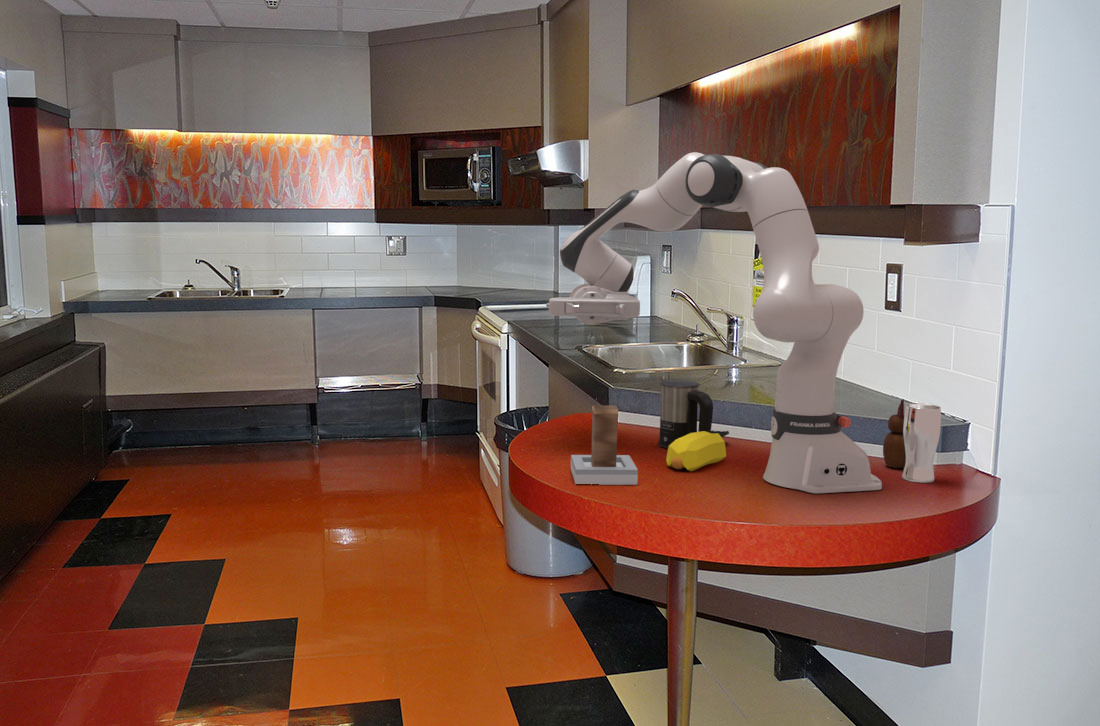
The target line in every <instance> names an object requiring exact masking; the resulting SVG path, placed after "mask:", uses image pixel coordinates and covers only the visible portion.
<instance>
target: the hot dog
mask: <svg viewBox="0 0 1100 726" xmlns="http://www.w3.org/2000/svg"><path fill="white" fill-rule="evenodd" d="M726 457H727V449H726V441H725V440H724V438H723V437H721V436H720V435H719V434H718V433H713V434H711V433H708V432H706V431H701V432H698V431H697V432H694V433H690V434H687V435H685V436H683V437H681V438H678V439H676V440H675V441H674V442H673V443H671V444H670V445H669V447H668V448H667V453H666V459H665V461H666V463H667V466H668V467H669V468H672V469H676V470H682V469H684V468H686V470H687V471H689V472H694V471H696V470H698V469H700V468H702V467H705V466H706V465H707V466H708V465H710V464H711V465H712V464H715V463H718V462H719V463H720V462H722V461H723V459H725V458H726Z"/></svg>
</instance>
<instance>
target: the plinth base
mask: <svg viewBox="0 0 1100 726" xmlns="http://www.w3.org/2000/svg"><path fill="white" fill-rule="evenodd" d="M570 471H571V474H572V477H573V481H574V485H576V484H591V485H592V484H599V486H600V485H601V486H604V485H605V486H611V485H612V486H614V485H615V486H626V485H627V486H628V485H629V486H638V479H639V478H638V477H639V476H638V475H639V474H638V473H639V472H638V471H639V470H638V468H637V465H636V464H635V462H634V461H633V459H632V457H631V456H630V455H629V454H622V455H621V454H617V456H616V467H592V465H591V454H571V455H570ZM592 486H593V485H592Z"/></svg>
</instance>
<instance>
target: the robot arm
mask: <svg viewBox="0 0 1100 726" xmlns="http://www.w3.org/2000/svg"><path fill="white" fill-rule="evenodd" d="M702 207H707V208H714V209H718V210H722V211H724V212H725V211H726V212H730V213H731V212H732V213H733V212H734V213H742V212H743V213H747V215H748V216H749V220H750V223H751V226H752V230H753V233H754V236H755V240H756V243H757V247H758V250H759V254H760V257H761V258H760V259H761V262H762V267H763V283H762V284H763V285H762V289H761V293H760V295H759V296H758V298H757V299H756V301H755V303H754V306H753V313H752V316H753V323H754V325H755V327H756V330H757V331H758V332H759V334H760V335H761V336H763V337H764V338H766V339H769V340H773V341H775V342H776V341H777V342H782V343H786V344H787V343H788V344H789V343H790V344H791V343H793V346H792V348H791V351H790V353H789V355H788V357H787V358H786V360H785V361H784V362H783V363H782V364H781V365H780V366H779V368H778V369H777V373H776V384H775V385H776V387H775V405H774V406H775V407H774V408H773V409H772V417H771V426H770V432H771V437H772V438H771V439H772V440H771V446H770V451H769V455H768V457H769V458H768V461H767V465H766V468H765V471H764V473H763V475H762V479H763V480H764V481H766V482H767V483H770V484H772V485H775V486H779V487H781V488H782V487H783V488H789V489H793V490H799V491H803V492H807V493H809V494H810V493H811V494H827V493H828V494H829V493H844V492H845V493H847V492H849V493H851V492H863V491H864V492H866V491H880V490H882V489H883V483H882V480H881V479H880V478H878V476H876V475H874V474H872V473H871V472H872V471H871V463H870V459H869V457H868V454H867V453H866V452H865V450H864V449H863V448H861V447H860V446H859V445H858V444H856V442H854V441H853V439H851V438H850V437H849V436H847V435H846V434H845V433H844V432H842V428H844V429H848V428H849V427H851V424H852V420H851V419H850V417H847V416H844V415H842V416H841V415H840V414H837V413H836V412H834V405H835V404H834V403H835V392H836V389H835V388H836V379H837V373H838V369H839V365H840V362H841V359H842V356H843V354H844V351H845V348H846V346H847V344H848V341H849V339H850V338H851V337H852V335H853V333H854V332H855V331H856V330H857V329H858V328H859V327H860V325H862V324H861V323H862V321H863V318H864V314H865V313H864V312H865V311H864V306H863V305H864V304H863V301H862V299H861V297H860V296H859V294H857V292H856V291H854V290H852V289H851V288H847V287H844V286H841V285H837V284H835V283H834V284H833V283H829V284H828V283H826V284H819V283H818V284H816V283H815V282H814V278H813V262H814V260H815V259H816V257H817V256H818V254H819V250H820V246H819V245H820V244H819V241H818V238H817V236H816V232H815V228H814V226H813V223H812V219H811V216H810V213H809V210H808V208H807V205H806V202H805V199H804V197H803V195H802V193H801V191H800V188H799V187H798V184H797V183H796V181H795V178H794V177H793V176H792V174H791V173H790V171H788V170H787V169H784V168H782V167H774V166H773V167H767V166H765V165H764V164H761V162H755V161H750V160H748V159H744V158H742V157H737V156H735V155H734V156H733V155H723V154H722V155H721V154H718V153H711V154H710V153H709V154H704V153H701V152H697V151H695V152H689V153H686V154H685V155H684V156H682V157H681V158H680V159H678V160H677V161H676V162H675V163H674V164H673V165H671V166H670V167H669V168H668V169H667V170H666V171H665V172H664V174H662V175H661V176H660V177H659V178H658V180H657V181H656V182H655V183H654V184H652V185H651V186H649V187H647V188H645V189H641V190H639V189H631V190H629V191H627V192H626V193H624V194H622V196H620V197H619V198H617V199H616V200H615V201H613V202H612V203H611V204H610V205H608V206H607V207H606V208H604V210H602V211H601V212H600V213H599V214H598V215H596V216H595V217H594V218H592V220H590V221H589V222H588V223H586V224H585V225H584V226H582V227H581V228H579V229H578V230H576V231H575V232H574V233H572V234H571V235H569V236H568V237H567V238H566V239H565V240H564V242H563V243H562V245H561V248H560V250H559V256H560V259H561V260H560V261H561V264H562V266H563V267H564V268H566V269H568V270H570V272H573V273H574V274H576V275H578V276H579V277H581V278H582V279H583V280H584V281H585V282H587V283H583V284H580V285H578V286H576V287H574V289H573V290H572V291H571V292H570V294H569V297H560V296H559V297H550V298H549V300H548V302H547V303H546V304H545V305H546V308H547V309H548V315H549V316H554V317H556V316H557V317H560V316H561V317H565V316H567V317H575V318H576V319H577V320H578V321H579V322H580V323H582V324H585V325H587V326H588V325H590V326H594V325H598V324H604V323H607V322H613V321H614V322H615V321H627V320H629V319H630V318H633V319H634V318H639V316H640V314H641V312H640V311H641V302H640V300H639V299H638V298H637V297H636V296H632V295H630V293H629V292H628V291H629V290H630V289H631V286H632V284H633V281H634V278H635V277H634V267H633V266H634V265H633V264H632V263H631V262H630V261H628V260H627V259H626V258H625V257H623V256H622V255H621V254H619V253H617V252H616V251H615V250H613V248H611V247H609V246H608V245H607V244H606V243H605V242H603V241H601V239H600V238H601V237H602V236H603V235H605V234H606V233H608V232H609V231H610V230H611V229H612V228H613V227H615V226H616V225H618V224H620V223H631V224H635V225H638V226H641V227H644V228H646V229H650V230H653V231H657V232H662V233H663V232H664V233H665V232H673V231H677V230H679V229H681V228H682V227H684V226H685V225H686V224H687V223H688V222H690V220H691V219H692V218H693V217H695V215H696V214H697V212H698V211H699V210H700V209H701V208H702Z"/></svg>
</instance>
